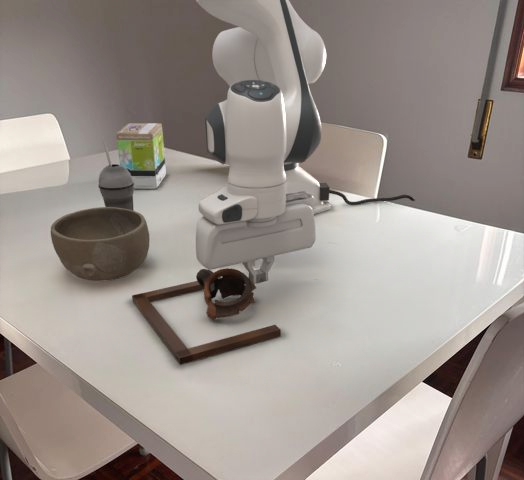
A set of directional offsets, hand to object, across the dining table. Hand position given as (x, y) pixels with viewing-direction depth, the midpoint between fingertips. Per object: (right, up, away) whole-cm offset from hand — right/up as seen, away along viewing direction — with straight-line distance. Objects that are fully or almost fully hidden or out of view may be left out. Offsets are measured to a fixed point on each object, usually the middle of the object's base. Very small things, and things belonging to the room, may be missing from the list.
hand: (258, 281), depth 93 cm
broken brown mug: (-5, -5, +1) cm, 7 cm away
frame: (-9, -6, -2) cm, 11 cm away
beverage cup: (-30, +13, +30) cm, 44 cm away
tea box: (-33, +36, +67) cm, 83 cm away
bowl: (-29, +4, +14) cm, 33 cm away
